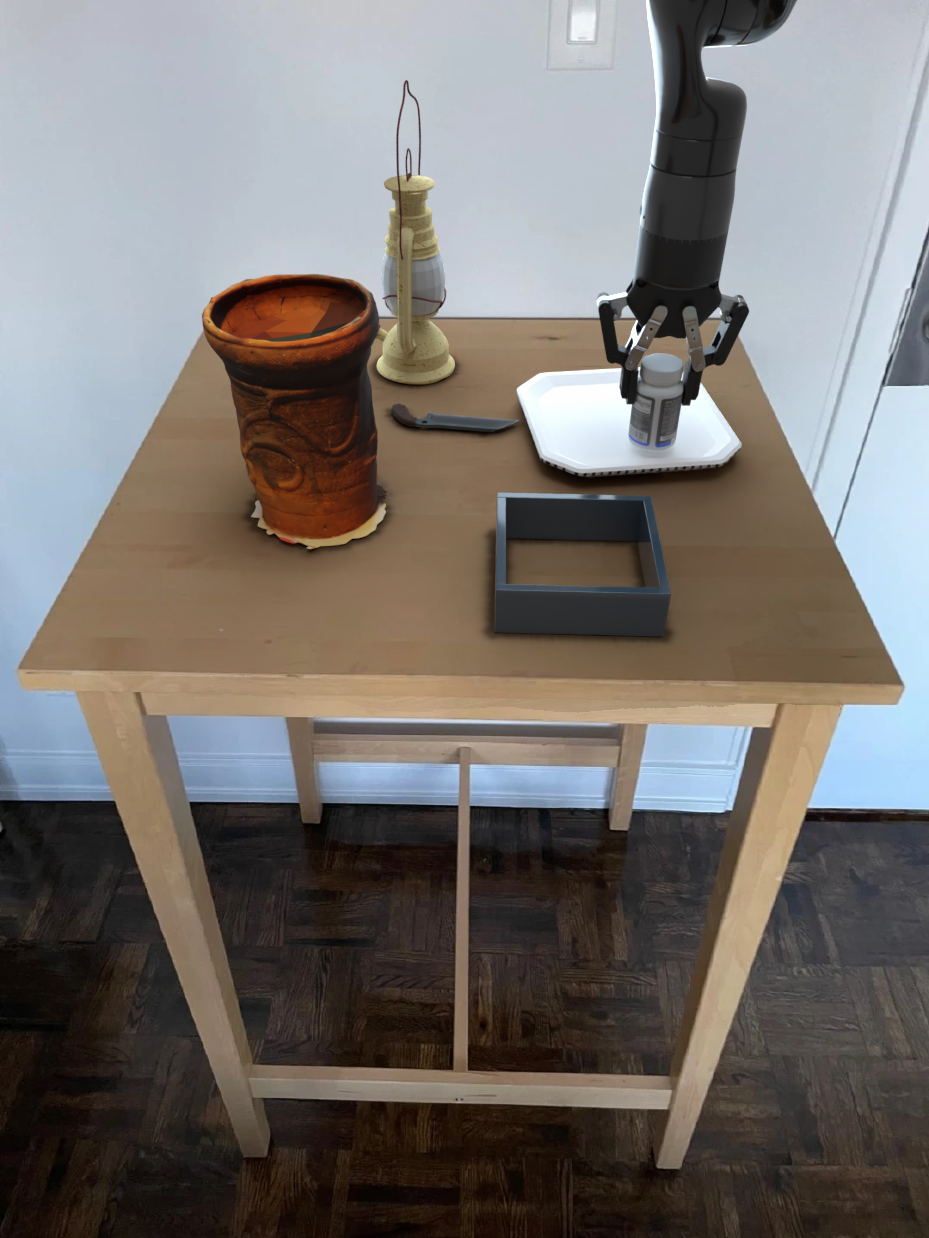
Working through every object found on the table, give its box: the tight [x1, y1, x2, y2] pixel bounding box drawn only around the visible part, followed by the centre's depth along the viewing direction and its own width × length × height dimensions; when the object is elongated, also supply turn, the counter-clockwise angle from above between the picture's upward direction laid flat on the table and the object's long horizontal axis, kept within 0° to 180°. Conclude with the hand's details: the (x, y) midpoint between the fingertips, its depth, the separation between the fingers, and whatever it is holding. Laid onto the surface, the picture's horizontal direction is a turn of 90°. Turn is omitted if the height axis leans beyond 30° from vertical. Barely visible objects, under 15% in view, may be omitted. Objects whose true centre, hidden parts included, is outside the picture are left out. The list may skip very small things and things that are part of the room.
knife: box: [390, 403, 520, 433], centre depth 101 cm, size 14×4×1 cm, turn 81°
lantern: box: [375, 79, 456, 385], centre depth 101 cm, size 12×10×30 cm
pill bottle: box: [628, 352, 685, 451], centre depth 92 cm, size 5×5×8 cm
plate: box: [516, 366, 742, 478], centre depth 99 cm, size 21×21×2 cm
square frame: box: [493, 492, 672, 638], centre depth 80 cm, size 14×14×4 cm
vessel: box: [201, 273, 388, 550], centre depth 83 cm, size 14×14×20 cm
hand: (657, 400), depth 92 cm, fingers closed on pill bottle, 4 cm apart
